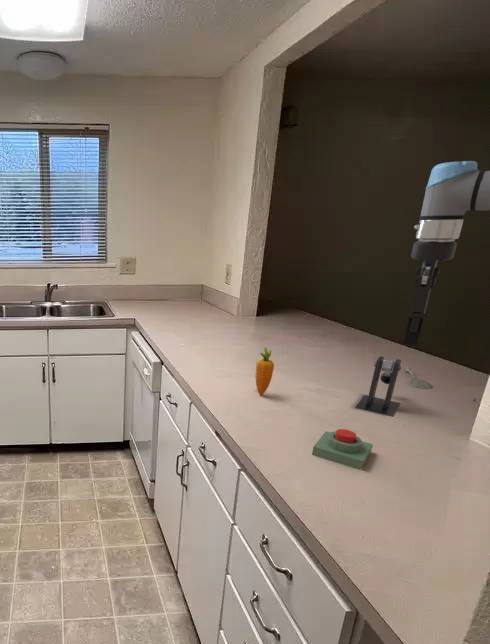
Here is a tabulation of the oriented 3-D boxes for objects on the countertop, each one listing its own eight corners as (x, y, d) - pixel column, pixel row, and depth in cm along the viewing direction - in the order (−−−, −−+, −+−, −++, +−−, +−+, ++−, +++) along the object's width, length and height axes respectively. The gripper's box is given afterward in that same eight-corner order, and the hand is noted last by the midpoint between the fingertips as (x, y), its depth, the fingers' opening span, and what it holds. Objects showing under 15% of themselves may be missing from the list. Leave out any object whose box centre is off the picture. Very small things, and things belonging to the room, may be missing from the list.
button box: (323, 439, 107) (326, 424, 106) (370, 452, 101) (374, 437, 99) (311, 454, 100) (314, 439, 99) (361, 470, 94) (365, 453, 92)
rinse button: (337, 434, 102) (338, 427, 101) (356, 439, 99) (358, 432, 99) (332, 440, 99) (333, 433, 98) (352, 445, 96) (353, 438, 96)
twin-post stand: (363, 399, 130) (374, 351, 125) (399, 407, 124) (412, 357, 119) (354, 411, 122) (365, 361, 117) (392, 420, 116) (405, 368, 111)
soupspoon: (407, 393, 136) (432, 397, 133) (410, 383, 134) (436, 387, 132) (396, 370, 154) (418, 373, 151) (399, 361, 152) (421, 364, 150)
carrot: (268, 399, 131) (275, 351, 125) (250, 396, 133) (257, 349, 128) (270, 393, 135) (277, 347, 129) (253, 391, 137) (260, 345, 132)
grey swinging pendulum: (379, 384, 129) (382, 373, 129) (393, 386, 126) (397, 375, 127) (377, 368, 118) (381, 356, 119) (393, 371, 116) (397, 359, 117)
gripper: (417, 239, 102) (394, 336, 110) (411, 241, 93) (387, 348, 101) (458, 239, 97) (431, 341, 105) (456, 242, 88) (427, 353, 96)
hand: (410, 344), depth 103 cm, fingers closed
